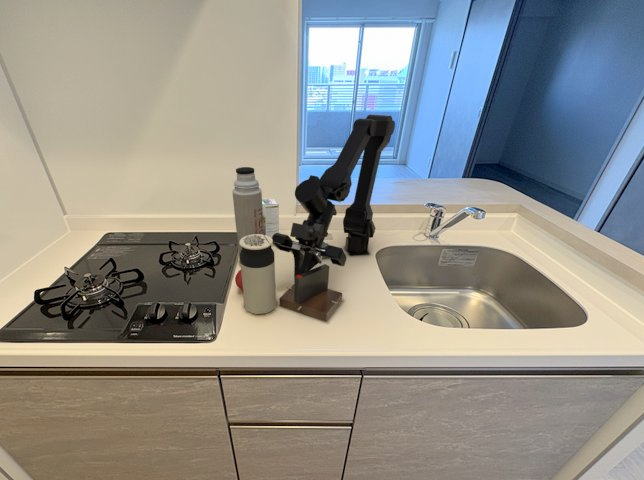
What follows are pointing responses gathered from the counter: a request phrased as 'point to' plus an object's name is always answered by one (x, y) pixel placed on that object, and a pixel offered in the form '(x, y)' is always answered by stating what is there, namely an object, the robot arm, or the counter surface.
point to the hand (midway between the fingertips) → (296, 281)
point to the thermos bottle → (247, 204)
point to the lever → (311, 283)
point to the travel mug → (258, 273)
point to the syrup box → (270, 217)
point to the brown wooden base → (313, 303)
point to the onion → (239, 280)
